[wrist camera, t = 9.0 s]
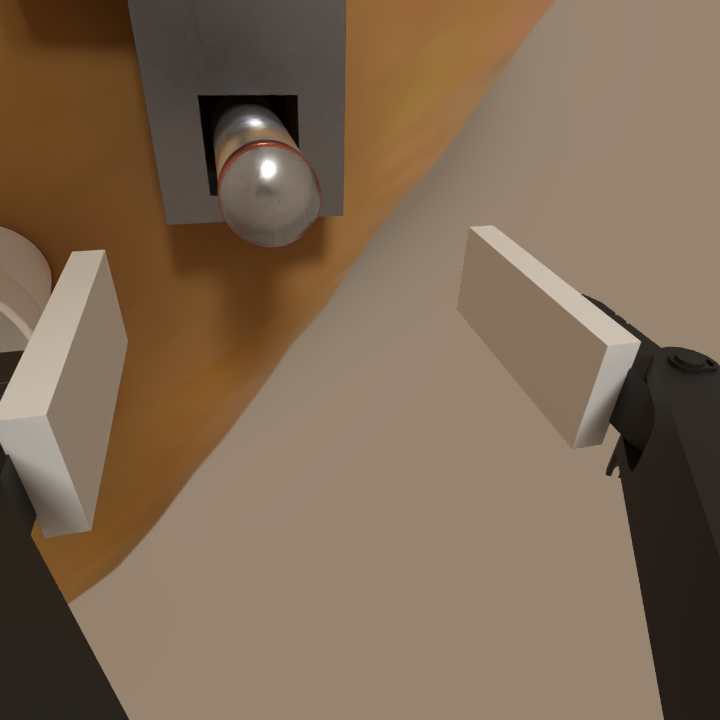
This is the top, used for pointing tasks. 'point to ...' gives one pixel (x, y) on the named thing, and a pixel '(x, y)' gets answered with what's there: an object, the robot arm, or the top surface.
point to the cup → (21, 289)
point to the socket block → (240, 86)
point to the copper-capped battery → (262, 174)
